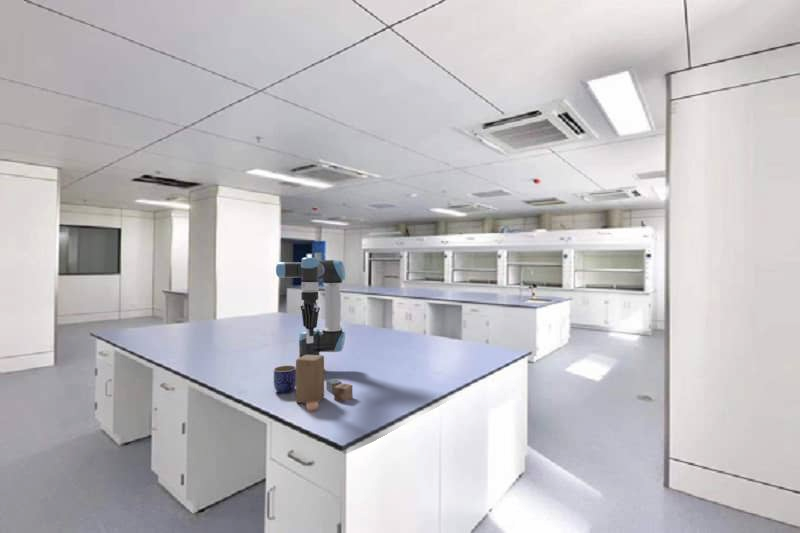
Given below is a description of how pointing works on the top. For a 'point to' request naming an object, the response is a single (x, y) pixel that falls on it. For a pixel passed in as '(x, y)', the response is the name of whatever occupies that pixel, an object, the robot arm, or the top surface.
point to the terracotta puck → (312, 406)
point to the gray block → (332, 385)
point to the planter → (285, 379)
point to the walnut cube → (343, 392)
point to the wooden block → (309, 378)
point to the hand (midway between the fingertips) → (310, 342)
